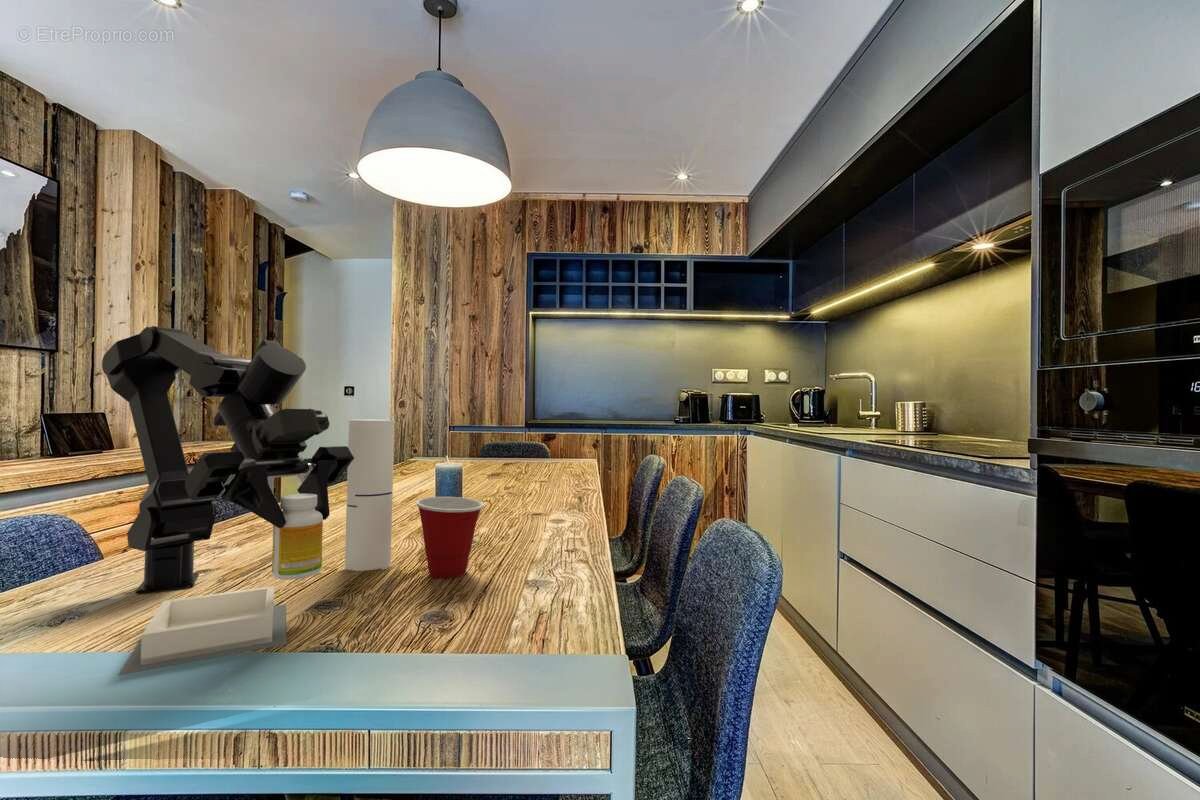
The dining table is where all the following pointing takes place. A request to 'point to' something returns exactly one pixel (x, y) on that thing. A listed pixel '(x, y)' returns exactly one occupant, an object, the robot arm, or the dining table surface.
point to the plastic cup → (448, 533)
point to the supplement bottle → (298, 538)
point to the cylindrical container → (369, 495)
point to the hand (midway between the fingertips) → (305, 521)
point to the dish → (208, 624)
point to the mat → (277, 639)
